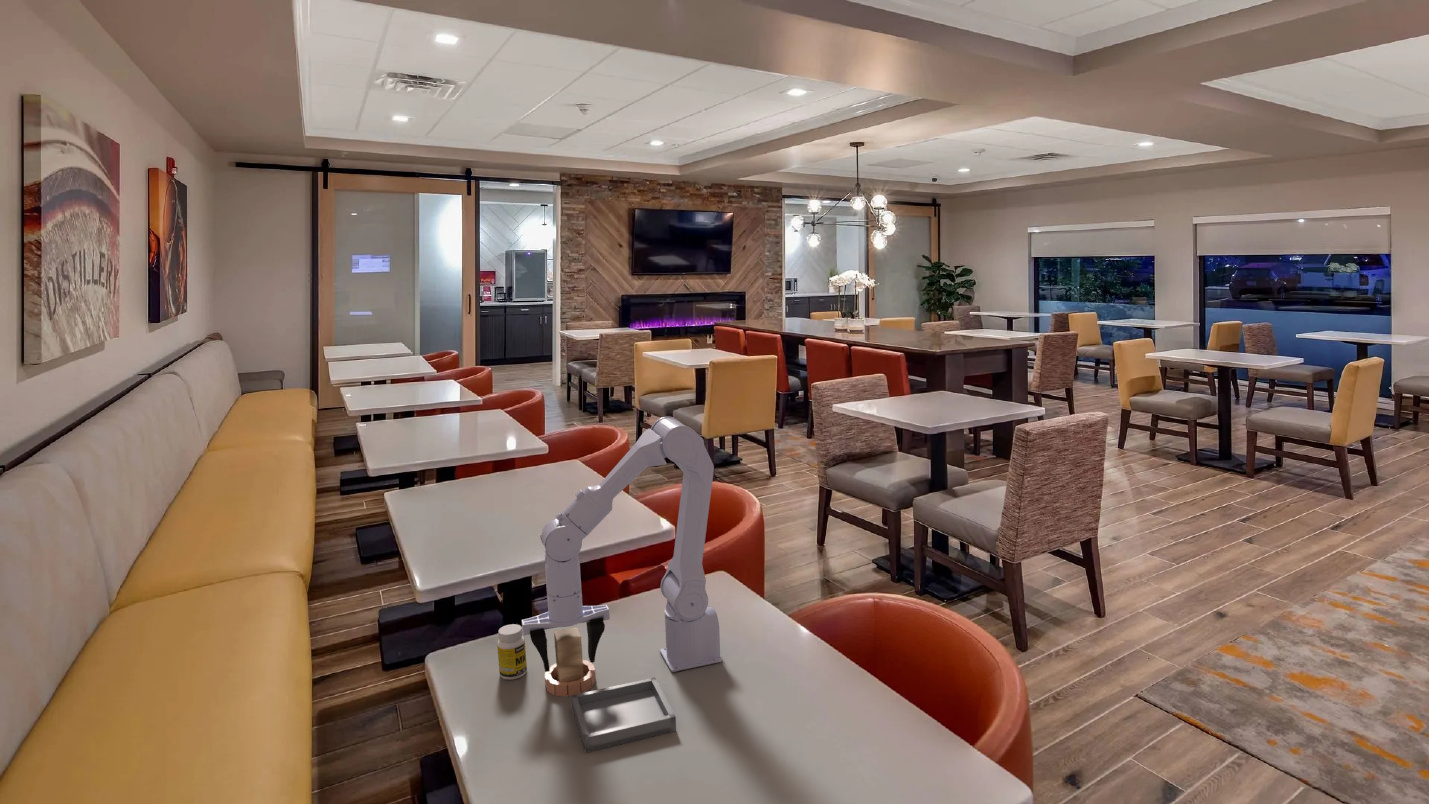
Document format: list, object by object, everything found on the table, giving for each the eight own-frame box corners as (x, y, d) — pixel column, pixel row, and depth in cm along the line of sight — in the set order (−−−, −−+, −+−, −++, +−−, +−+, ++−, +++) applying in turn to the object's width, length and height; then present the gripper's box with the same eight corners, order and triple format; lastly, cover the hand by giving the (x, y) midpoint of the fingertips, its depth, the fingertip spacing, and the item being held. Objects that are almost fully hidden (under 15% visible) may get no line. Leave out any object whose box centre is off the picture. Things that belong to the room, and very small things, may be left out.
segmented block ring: (590, 665, 134) (589, 655, 134) (599, 689, 127) (598, 679, 126) (543, 675, 132) (542, 664, 131) (549, 700, 124) (548, 689, 123)
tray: (655, 690, 126) (655, 677, 125) (676, 730, 115) (675, 716, 114) (572, 708, 121) (571, 695, 121) (585, 752, 110) (584, 738, 110)
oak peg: (580, 674, 132) (577, 626, 130) (584, 686, 128) (581, 637, 126) (557, 679, 130) (553, 631, 129) (560, 691, 127) (557, 641, 125)
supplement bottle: (519, 681, 130) (516, 636, 128) (494, 679, 131) (490, 634, 129) (531, 667, 134) (528, 623, 133) (507, 665, 135) (503, 622, 134)
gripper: (602, 574, 132) (606, 645, 135) (517, 588, 127) (523, 661, 130) (610, 589, 126) (614, 664, 128) (521, 605, 121) (528, 682, 123)
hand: (569, 664), depth 128 cm, fingers open, 7 cm apart
